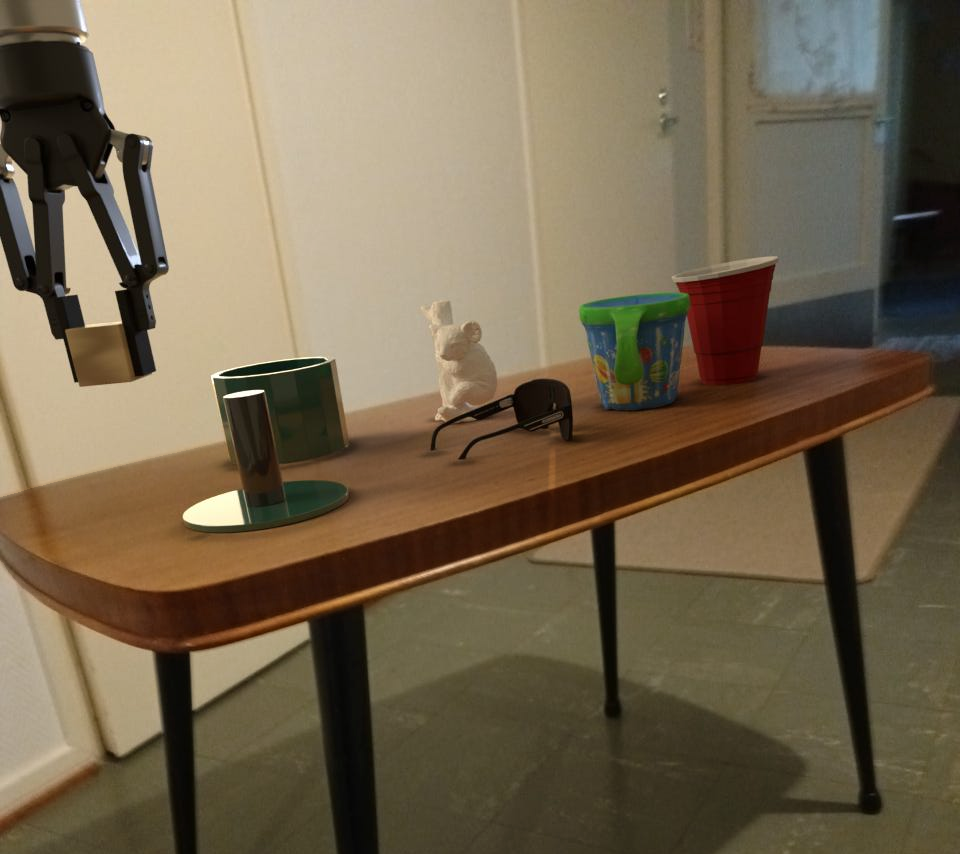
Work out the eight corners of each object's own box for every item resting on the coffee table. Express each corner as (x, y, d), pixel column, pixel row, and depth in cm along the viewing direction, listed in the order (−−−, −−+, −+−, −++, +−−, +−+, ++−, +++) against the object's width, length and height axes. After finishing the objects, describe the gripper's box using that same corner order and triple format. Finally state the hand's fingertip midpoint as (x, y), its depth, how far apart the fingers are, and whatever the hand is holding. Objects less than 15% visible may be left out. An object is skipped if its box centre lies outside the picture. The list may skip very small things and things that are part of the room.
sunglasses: (595, 439, 85) (584, 382, 83) (475, 486, 81) (461, 427, 79) (534, 426, 94) (523, 374, 92) (424, 467, 90) (410, 414, 88)
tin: (215, 476, 90) (194, 382, 87) (250, 450, 101) (233, 365, 98) (335, 464, 89) (319, 368, 86) (359, 439, 99) (345, 352, 96)
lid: (160, 547, 69) (127, 418, 66) (216, 501, 81) (191, 389, 77) (331, 531, 68) (307, 398, 64) (364, 487, 79) (344, 372, 76)
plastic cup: (665, 381, 111) (660, 268, 106) (760, 368, 111) (759, 255, 106) (689, 395, 100) (685, 271, 96) (794, 381, 101) (794, 257, 96)
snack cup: (678, 419, 90) (674, 302, 86) (567, 424, 94) (558, 313, 90) (704, 388, 103) (701, 286, 99) (606, 394, 107) (599, 296, 103)
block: (79, 387, 78) (64, 329, 77) (102, 379, 82) (89, 324, 81) (131, 382, 78) (118, 324, 76) (152, 374, 82) (140, 319, 80)
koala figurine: (415, 423, 104) (398, 305, 99) (467, 411, 107) (453, 295, 103) (458, 430, 97) (442, 303, 93) (513, 417, 101) (500, 294, 96)
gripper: (171, 40, 74) (233, 360, 83) (-47, 70, 75) (37, 380, 84) (131, 21, 67) (203, 373, 76) (-107, 55, 69) (-9, 394, 78)
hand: (115, 376), depth 80 cm, fingers closed on block, 4 cm apart
